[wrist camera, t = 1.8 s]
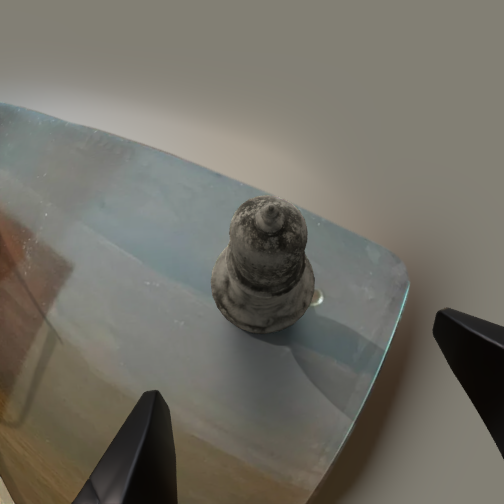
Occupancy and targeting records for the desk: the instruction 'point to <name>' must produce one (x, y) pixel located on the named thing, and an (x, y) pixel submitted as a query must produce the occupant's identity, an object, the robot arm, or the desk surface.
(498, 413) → the robot arm
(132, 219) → the desk surface
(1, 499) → the stove
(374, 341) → the desk surface
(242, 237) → the pewter sugar caster
